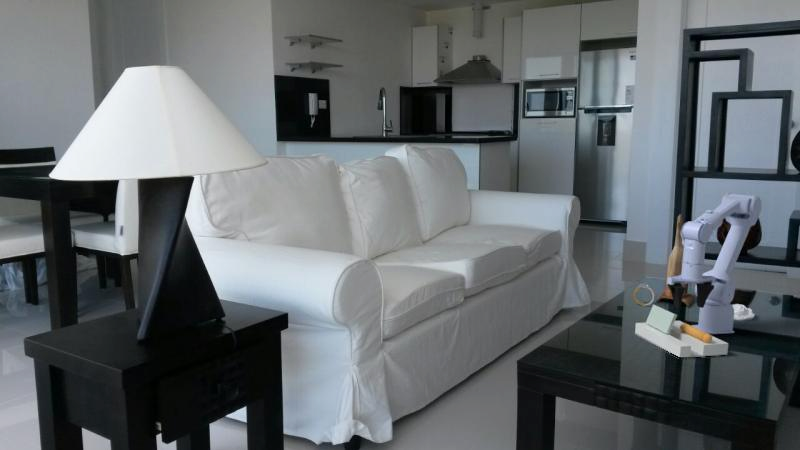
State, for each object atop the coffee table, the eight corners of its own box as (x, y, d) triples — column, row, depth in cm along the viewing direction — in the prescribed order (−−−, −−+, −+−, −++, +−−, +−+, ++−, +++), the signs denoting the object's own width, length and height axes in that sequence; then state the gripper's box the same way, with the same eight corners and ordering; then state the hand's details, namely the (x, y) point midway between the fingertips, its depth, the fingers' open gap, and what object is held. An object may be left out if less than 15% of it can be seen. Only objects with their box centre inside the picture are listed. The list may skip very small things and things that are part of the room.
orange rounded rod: (685, 330, 187) (686, 321, 187) (713, 343, 176) (714, 335, 175) (677, 330, 187) (678, 322, 186) (705, 344, 175) (706, 335, 175)
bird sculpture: (694, 300, 233) (702, 214, 228) (689, 308, 223) (698, 217, 218) (661, 296, 239) (669, 211, 234) (655, 303, 229) (663, 214, 224)
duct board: (678, 331, 197) (679, 320, 196) (727, 355, 177) (728, 343, 176) (634, 334, 194) (635, 323, 193) (679, 358, 173) (680, 346, 173)
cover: (655, 305, 192) (653, 304, 192) (677, 315, 182) (674, 314, 182) (648, 323, 192) (645, 322, 192) (669, 334, 183) (666, 333, 182)
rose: (760, 305, 213) (750, 310, 207) (758, 317, 214) (749, 323, 207) (728, 298, 220) (718, 304, 214) (727, 311, 221) (716, 316, 214)
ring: (631, 305, 225) (633, 283, 224) (633, 303, 228) (635, 281, 227) (652, 308, 221) (654, 286, 220) (654, 306, 224) (656, 284, 223)
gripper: (706, 259, 193) (701, 302, 195) (662, 260, 190) (658, 304, 192) (721, 264, 186) (717, 309, 188) (677, 265, 183) (673, 311, 185)
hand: (688, 307), depth 190 cm, fingers open, 7 cm apart
